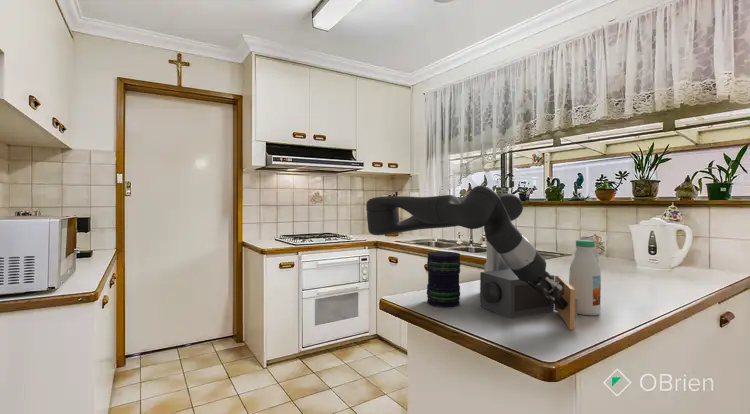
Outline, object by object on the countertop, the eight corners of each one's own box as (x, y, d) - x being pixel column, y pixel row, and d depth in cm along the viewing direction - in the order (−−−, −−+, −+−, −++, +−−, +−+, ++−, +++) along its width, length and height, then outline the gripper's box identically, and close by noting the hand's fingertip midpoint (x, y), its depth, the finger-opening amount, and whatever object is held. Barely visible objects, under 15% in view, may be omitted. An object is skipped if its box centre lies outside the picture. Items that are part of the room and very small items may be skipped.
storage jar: (445, 310, 107) (445, 257, 106) (419, 302, 114) (420, 253, 114) (467, 303, 113) (467, 254, 113) (441, 297, 120) (442, 250, 120)
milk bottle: (583, 317, 101) (585, 242, 100) (562, 309, 108) (563, 239, 108) (607, 315, 103) (608, 241, 102) (584, 307, 110) (585, 238, 110)
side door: (577, 330, 89) (578, 289, 89) (567, 329, 90) (567, 289, 90) (562, 310, 105) (563, 276, 105) (553, 309, 106) (554, 275, 106)
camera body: (504, 319, 99) (505, 278, 98) (474, 307, 110) (474, 270, 109) (554, 311, 106) (555, 273, 106) (521, 300, 117) (521, 266, 117)
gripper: (495, 263, 96) (536, 310, 99) (528, 273, 83) (574, 326, 86) (514, 243, 97) (554, 289, 100) (550, 249, 84) (594, 302, 87)
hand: (563, 306), depth 93 cm, fingers closed
